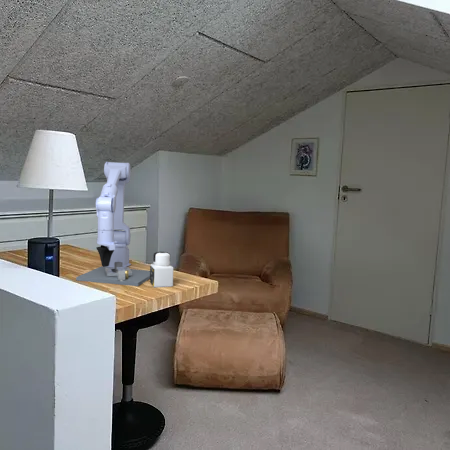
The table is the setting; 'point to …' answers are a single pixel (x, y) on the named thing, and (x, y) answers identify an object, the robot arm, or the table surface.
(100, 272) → the board
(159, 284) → the medicine bottle
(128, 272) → the dowel
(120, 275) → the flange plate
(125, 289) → the table surface
